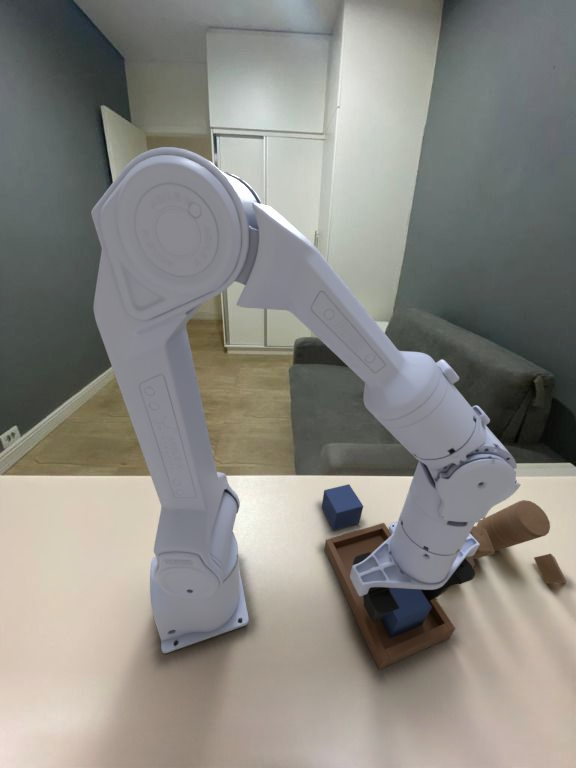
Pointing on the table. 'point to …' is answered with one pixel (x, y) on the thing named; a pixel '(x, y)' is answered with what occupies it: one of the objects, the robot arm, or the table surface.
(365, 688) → the table surface
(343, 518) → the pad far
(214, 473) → the robot arm
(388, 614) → the blue cube
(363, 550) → the frame
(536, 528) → the wooden block set
